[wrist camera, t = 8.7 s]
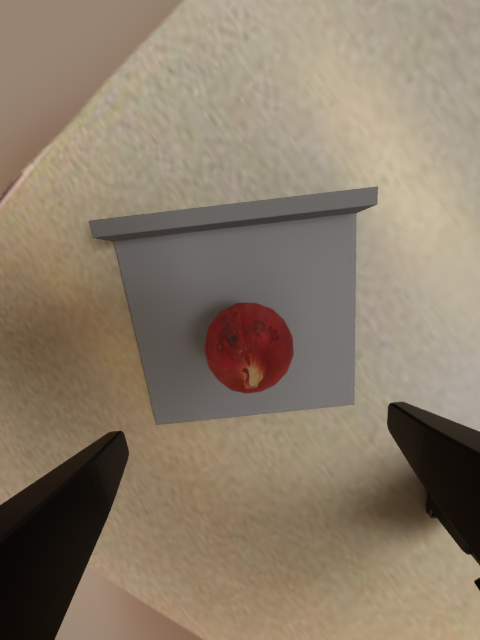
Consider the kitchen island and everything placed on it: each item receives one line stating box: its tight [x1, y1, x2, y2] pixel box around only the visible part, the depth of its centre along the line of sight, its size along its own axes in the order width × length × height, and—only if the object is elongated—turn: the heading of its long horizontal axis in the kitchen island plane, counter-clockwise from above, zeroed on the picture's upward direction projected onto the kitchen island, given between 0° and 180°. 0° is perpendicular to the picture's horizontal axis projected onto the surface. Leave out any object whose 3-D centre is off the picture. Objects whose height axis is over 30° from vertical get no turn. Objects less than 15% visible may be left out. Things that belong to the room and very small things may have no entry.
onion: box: [204, 303, 294, 394], centre depth 15 cm, size 6×6×8 cm
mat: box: [89, 187, 378, 425], centre depth 18 cm, size 18×17×3 cm
